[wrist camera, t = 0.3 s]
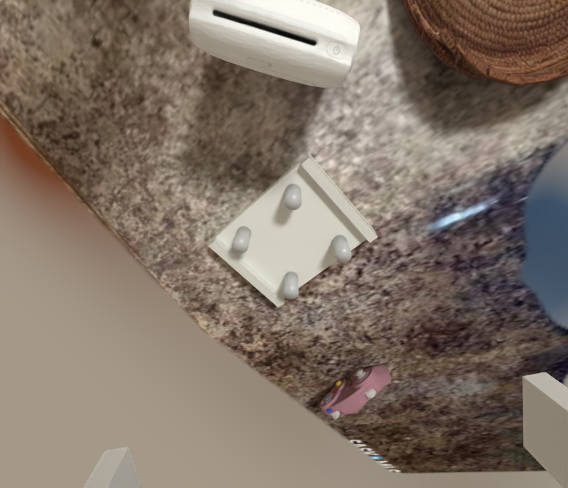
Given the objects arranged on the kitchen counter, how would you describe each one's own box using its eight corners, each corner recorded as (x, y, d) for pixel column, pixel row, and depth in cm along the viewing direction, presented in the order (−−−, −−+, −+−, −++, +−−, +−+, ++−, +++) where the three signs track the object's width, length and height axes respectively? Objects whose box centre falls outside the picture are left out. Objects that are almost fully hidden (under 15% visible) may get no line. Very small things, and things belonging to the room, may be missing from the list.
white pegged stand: (308, 152, 32) (310, 162, 28) (373, 227, 36) (382, 246, 32) (212, 236, 37) (203, 255, 33) (278, 296, 40) (277, 319, 37)
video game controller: (372, 348, 46) (367, 373, 40) (394, 374, 46) (393, 404, 39) (322, 382, 50) (309, 410, 43) (342, 406, 49) (332, 438, 43)
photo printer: (345, 34, 27) (381, 10, 16) (329, 88, 29) (351, 100, 18) (224, -5, 26) (176, -57, 15) (215, 55, 28) (168, 46, 17)
